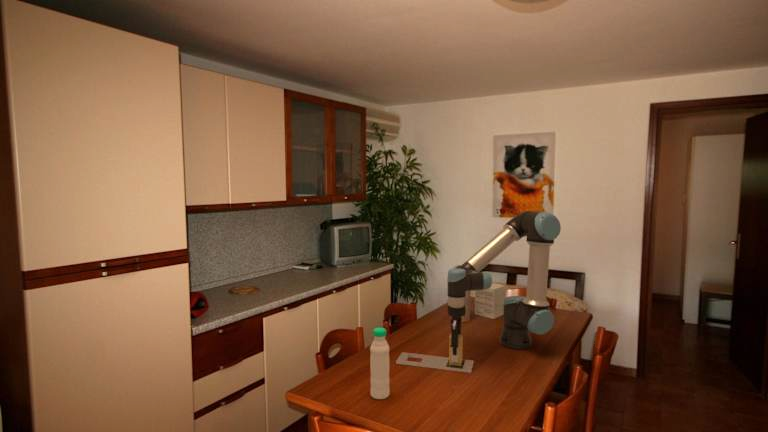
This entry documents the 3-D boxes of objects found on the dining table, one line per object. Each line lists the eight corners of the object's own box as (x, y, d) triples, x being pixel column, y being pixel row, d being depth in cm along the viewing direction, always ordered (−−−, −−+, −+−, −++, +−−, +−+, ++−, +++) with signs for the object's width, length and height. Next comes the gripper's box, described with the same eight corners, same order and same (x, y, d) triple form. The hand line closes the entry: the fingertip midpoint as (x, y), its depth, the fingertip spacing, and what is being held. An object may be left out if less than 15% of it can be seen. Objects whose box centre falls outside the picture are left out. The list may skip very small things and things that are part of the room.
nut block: (462, 361, 188) (462, 334, 187) (460, 366, 183) (461, 338, 182) (450, 360, 189) (451, 333, 188) (449, 364, 184) (449, 337, 184)
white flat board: (473, 363, 189) (473, 360, 189) (471, 372, 179) (471, 369, 179) (402, 354, 198) (402, 352, 198) (396, 363, 189) (396, 360, 189)
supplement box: (486, 309, 268) (486, 281, 267) (505, 314, 259) (506, 285, 257) (474, 314, 259) (474, 285, 257) (493, 319, 249) (494, 289, 248)
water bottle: (369, 391, 164) (369, 326, 162) (388, 390, 164) (388, 325, 163) (370, 400, 157) (370, 332, 155) (390, 399, 157) (390, 332, 156)
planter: (473, 319, 249) (473, 280, 247) (463, 323, 242) (464, 283, 240) (458, 315, 256) (459, 277, 254) (448, 319, 249) (449, 280, 247)
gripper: (450, 299, 194) (450, 350, 196) (443, 310, 177) (443, 366, 178) (467, 300, 192) (467, 352, 193) (462, 312, 174) (462, 368, 176)
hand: (455, 359), depth 186 cm, fingers closed on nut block, 5 cm apart
